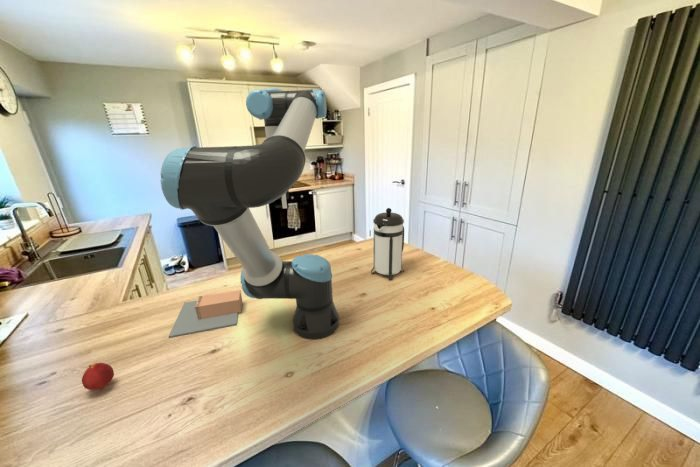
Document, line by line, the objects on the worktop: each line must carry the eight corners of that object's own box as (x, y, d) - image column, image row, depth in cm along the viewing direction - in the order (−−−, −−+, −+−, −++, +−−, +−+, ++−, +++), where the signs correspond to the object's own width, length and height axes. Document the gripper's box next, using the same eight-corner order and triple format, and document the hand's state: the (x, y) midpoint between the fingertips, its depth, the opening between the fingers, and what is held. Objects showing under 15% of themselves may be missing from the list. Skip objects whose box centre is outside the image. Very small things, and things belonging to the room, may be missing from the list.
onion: (99, 379, 73) (89, 355, 71) (122, 377, 74) (113, 353, 71) (81, 399, 68) (69, 373, 65) (106, 396, 68) (96, 371, 65)
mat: (236, 325, 93) (236, 323, 93) (168, 338, 88) (168, 336, 88) (240, 294, 111) (240, 293, 111) (184, 303, 106) (184, 302, 106)
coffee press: (409, 280, 119) (412, 212, 109) (371, 281, 119) (372, 213, 109) (402, 263, 135) (405, 202, 125) (369, 263, 136) (369, 203, 126)
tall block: (239, 299, 98) (194, 307, 94) (241, 311, 99) (197, 319, 96) (240, 289, 104) (198, 296, 100) (242, 301, 106) (201, 308, 102)
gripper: (295, 139, 100) (301, 203, 108) (257, 140, 97) (266, 206, 104) (298, 139, 93) (303, 208, 101) (257, 140, 90) (266, 211, 98)
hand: (284, 207), depth 103 cm, fingers closed
